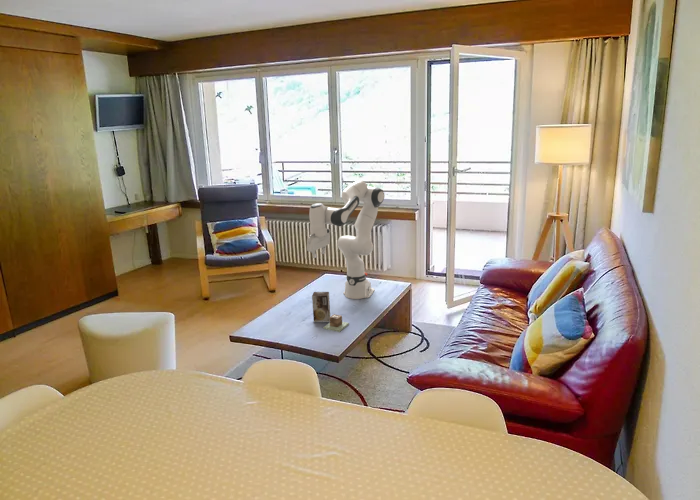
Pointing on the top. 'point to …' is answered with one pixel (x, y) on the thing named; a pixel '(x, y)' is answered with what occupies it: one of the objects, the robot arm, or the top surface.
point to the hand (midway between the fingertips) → (319, 255)
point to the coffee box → (321, 306)
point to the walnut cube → (335, 320)
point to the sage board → (336, 327)
